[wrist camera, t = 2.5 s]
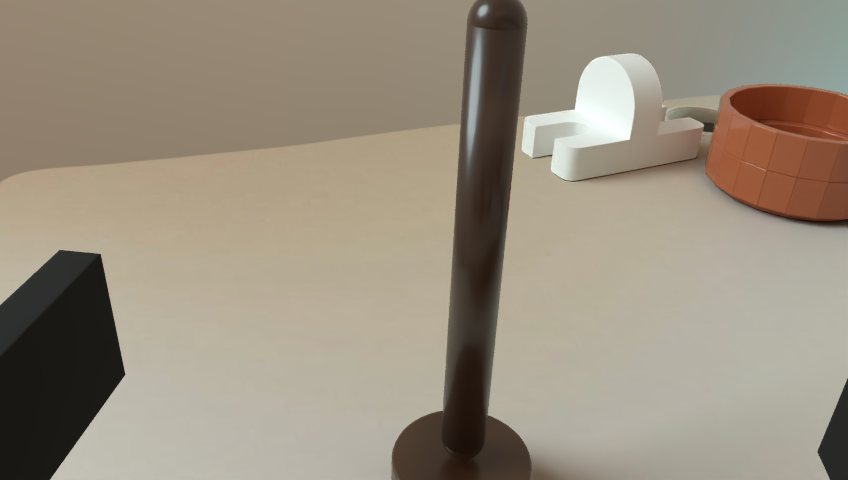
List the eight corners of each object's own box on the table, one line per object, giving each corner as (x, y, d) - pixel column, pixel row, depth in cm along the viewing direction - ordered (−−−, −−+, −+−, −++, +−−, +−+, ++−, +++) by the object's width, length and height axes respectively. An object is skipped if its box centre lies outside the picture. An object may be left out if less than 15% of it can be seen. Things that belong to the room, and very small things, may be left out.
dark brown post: (534, 471, 31) (608, -18, 21) (510, 578, 26) (590, 24, 17) (413, 441, 32) (432, -34, 22) (371, 539, 28) (371, 2, 18)
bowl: (860, 168, 59) (886, 95, 56) (896, 239, 49) (930, 155, 46) (701, 147, 62) (718, 76, 59) (705, 210, 52) (725, 128, 49)
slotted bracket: (644, 127, 65) (661, 37, 62) (701, 156, 60) (724, 61, 56) (517, 147, 60) (527, 51, 56) (567, 182, 55) (582, 78, 51)
